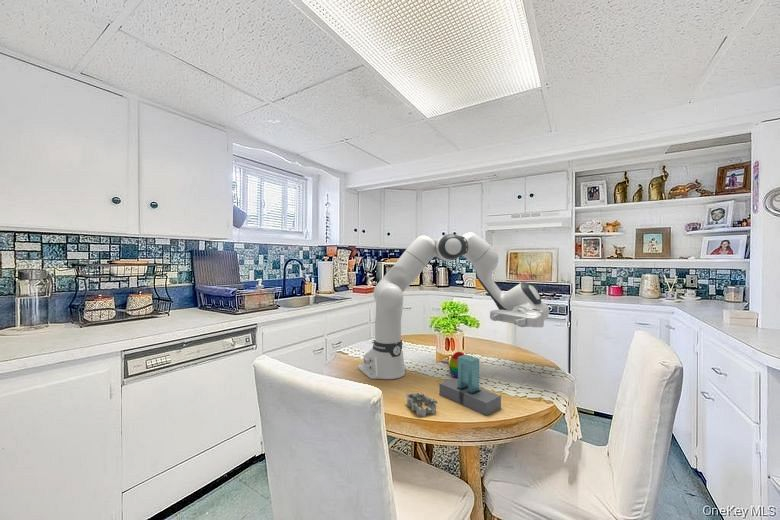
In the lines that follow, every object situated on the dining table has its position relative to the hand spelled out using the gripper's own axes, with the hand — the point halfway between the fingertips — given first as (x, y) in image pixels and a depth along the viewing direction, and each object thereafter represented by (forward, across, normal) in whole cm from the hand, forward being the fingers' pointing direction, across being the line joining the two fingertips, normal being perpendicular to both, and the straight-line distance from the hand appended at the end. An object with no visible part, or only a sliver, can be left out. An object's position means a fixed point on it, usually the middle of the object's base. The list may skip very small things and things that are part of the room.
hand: (504, 320), depth 126 cm
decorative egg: (+6, -17, +25) cm, 31 cm away
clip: (+22, 0, +25) cm, 33 cm away
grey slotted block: (+22, 0, +25) cm, 33 cm away
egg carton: (+38, -7, +25) cm, 46 cm away
